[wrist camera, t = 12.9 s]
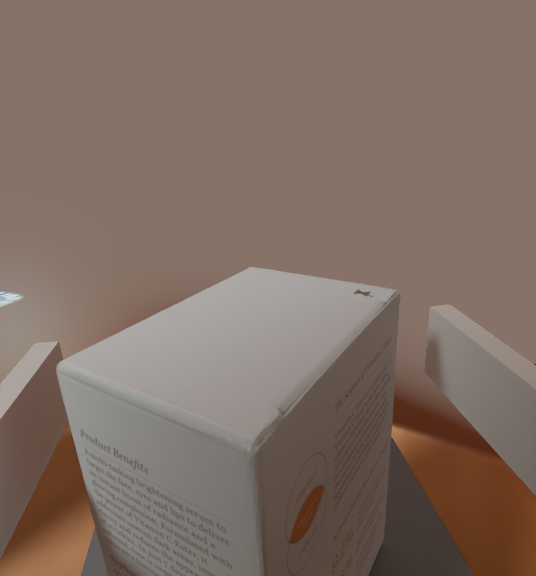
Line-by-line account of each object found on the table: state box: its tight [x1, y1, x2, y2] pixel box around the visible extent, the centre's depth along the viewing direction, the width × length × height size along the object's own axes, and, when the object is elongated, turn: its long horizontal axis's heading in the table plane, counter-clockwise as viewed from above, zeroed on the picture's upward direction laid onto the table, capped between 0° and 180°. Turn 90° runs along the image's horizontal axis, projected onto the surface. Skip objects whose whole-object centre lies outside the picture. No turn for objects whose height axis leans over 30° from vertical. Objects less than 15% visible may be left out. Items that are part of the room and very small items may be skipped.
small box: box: [56, 267, 400, 576], centre depth 13 cm, size 8×6×10 cm
